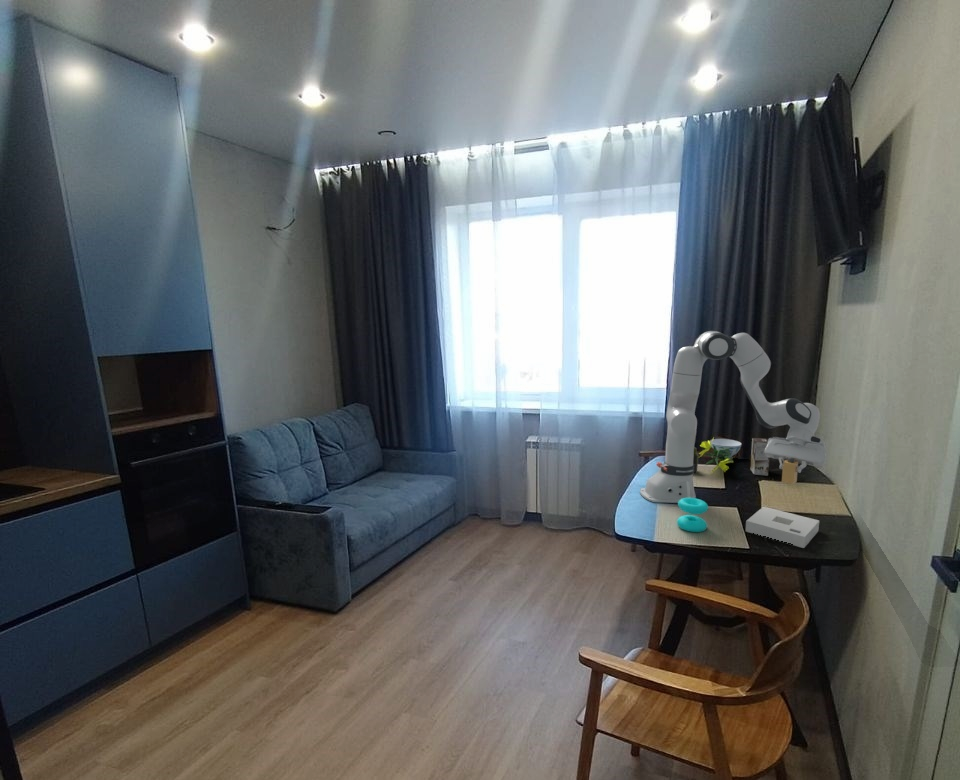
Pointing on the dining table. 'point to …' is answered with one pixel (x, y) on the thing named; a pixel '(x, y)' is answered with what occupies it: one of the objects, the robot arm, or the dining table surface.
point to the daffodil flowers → (717, 453)
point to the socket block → (783, 526)
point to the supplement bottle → (695, 460)
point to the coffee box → (759, 457)
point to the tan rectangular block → (789, 471)
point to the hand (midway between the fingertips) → (789, 470)
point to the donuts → (692, 521)
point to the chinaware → (726, 445)
